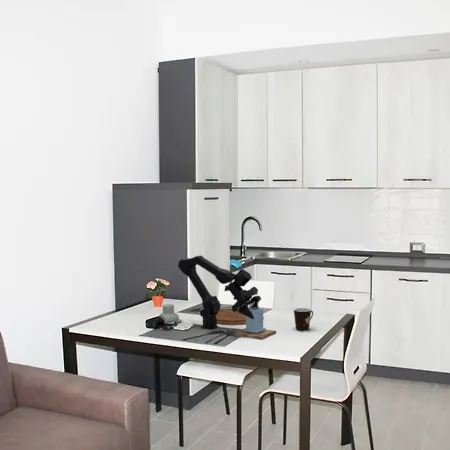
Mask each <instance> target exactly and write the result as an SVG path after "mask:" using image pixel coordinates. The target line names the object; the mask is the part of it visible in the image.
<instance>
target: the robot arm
mask: <svg viewBox="0 0 450 450" xmlns="http://www.w3.org/2000/svg"><path fill="white" fill-rule="evenodd" d="M197 265H198V266H199V267H200V268H203V269H204V270H205V271H207V272H209V273H210V274H211V275H213V276H214V277H215V279H216V280H217V281H218V283H220V284H221V285H224V292H230V293H231V295H232V297H233V298H232V299H233V300H236V302H234V303H233V305H232V306H231V309H232V311H233V312H237V311H238V309H239V311H238V313H241V314H243V315H245V316H247V317H249V318H251V319H254V317H253V315H252V313H251V312H250V310H249V308H252V307H255V308H260V307H259V303H260V301H261V300H262V298H261V296H260V295H258V293H259V289H258V288H257V287H256V286H252V287H251V288H250V289H248V290H246V289H244V288H243V287H245V286H246V285H247V284H248V283H249V282H250V281H251V280H252V275H251V273H250V272H248V271H247V270H245V269H244V268H241V269H239V271H238V272H237V273H234V272H233V271H231V270H228V269H225V268H222V267H219V266H218V265H216V264H214V263H213V262H212V261H209V259H206V258H205V257H204V256H203V255H196V256H193V257H191V258H189V257H187V258H184V259H183V258H182V259H179V261H178V263H177V267H178V269H179V270H180V271H181V273H182V274H184V275H185V276H187V277H188V279H189V280H190V282H191V284H192V285H193V287H194V289H195V290H196V292H197V293H198V295H199V297H200V299H201V300H202V301H201V302H202V303H201V304H202V307H203V308H202V310H200V311H199V314H200V317H202V326H200V328H202V329H207V330H213V329H215V328H218V327H219V325H218V324H217V318H216V314H218V311H219V310H221V301H219V299H218V296H217V295H211V293H210V292H209V290H208V289H207V287H206V285H205V284H204V282H203V280H202V279H201V277H200V275H199V274H198V273H197ZM227 284H228V285H227Z"/></svg>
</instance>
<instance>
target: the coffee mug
mask: <svg viewBox="0 0 450 450" xmlns="http://www.w3.org/2000/svg"><path fill="white" fill-rule="evenodd" d="M293 316H294V324H295V330H296V331H297V330H298V331H297V332H308V331H309V330H310V322H311V320H312V318H313V316H314V311H313V310H312V309H311V308H307V307H296V308H294V309H293ZM307 330H308V331H307Z"/></svg>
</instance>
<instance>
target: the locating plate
mask: <svg viewBox="0 0 450 450" xmlns="http://www.w3.org/2000/svg"><path fill="white" fill-rule="evenodd" d="M245 328H246V327H244V328H243V329H242V328H241V329H239V330H237V331H234V332H232V336H234V337H235V336H236V337H241V338H248V339H255V340H261V341H262V340H264V339H266V338H267V339H268V338H269V337H271V336H273V335H275V334H277V330H274V329H266V330H264V331H261V332H259V333H253V332H247V331H244V329H245Z"/></svg>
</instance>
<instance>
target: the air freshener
mask: <svg viewBox="0 0 450 450" xmlns="http://www.w3.org/2000/svg"><path fill="white" fill-rule="evenodd" d="M158 317H161V318H162V319H163V320H164V322H165V323H172V322H176V323H177V321H180V317H179V314H178V313H176V312H175V306H174V304H173V303H167V304H166V303H164V304H163V305H162V312H161V313H160V314H159V315H158Z"/></svg>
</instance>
